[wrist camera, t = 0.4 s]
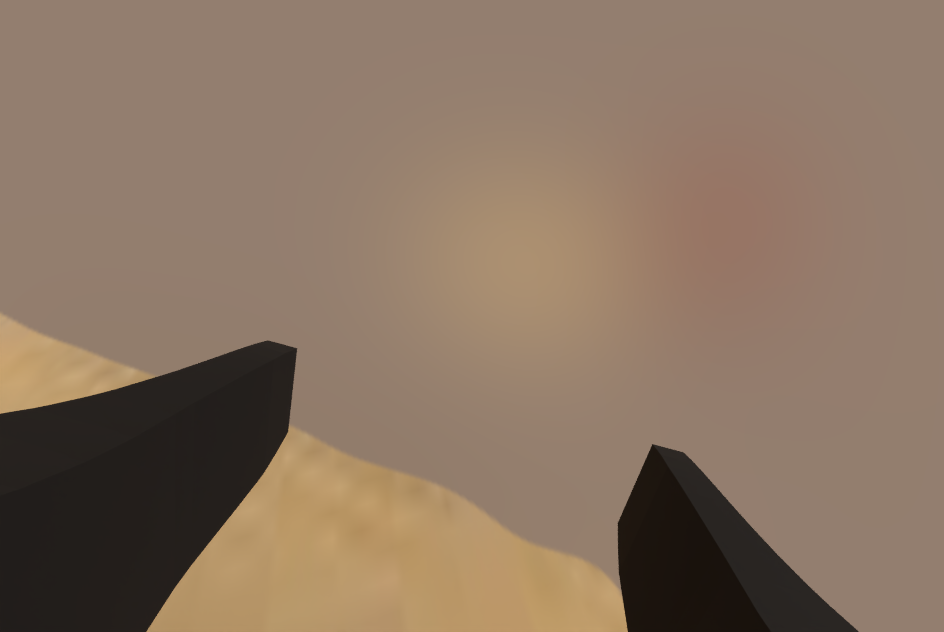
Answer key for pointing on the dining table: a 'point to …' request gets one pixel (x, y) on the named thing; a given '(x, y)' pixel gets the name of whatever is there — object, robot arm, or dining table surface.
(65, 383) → the dining table surface
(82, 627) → the robot arm
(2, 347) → the dining table surface
